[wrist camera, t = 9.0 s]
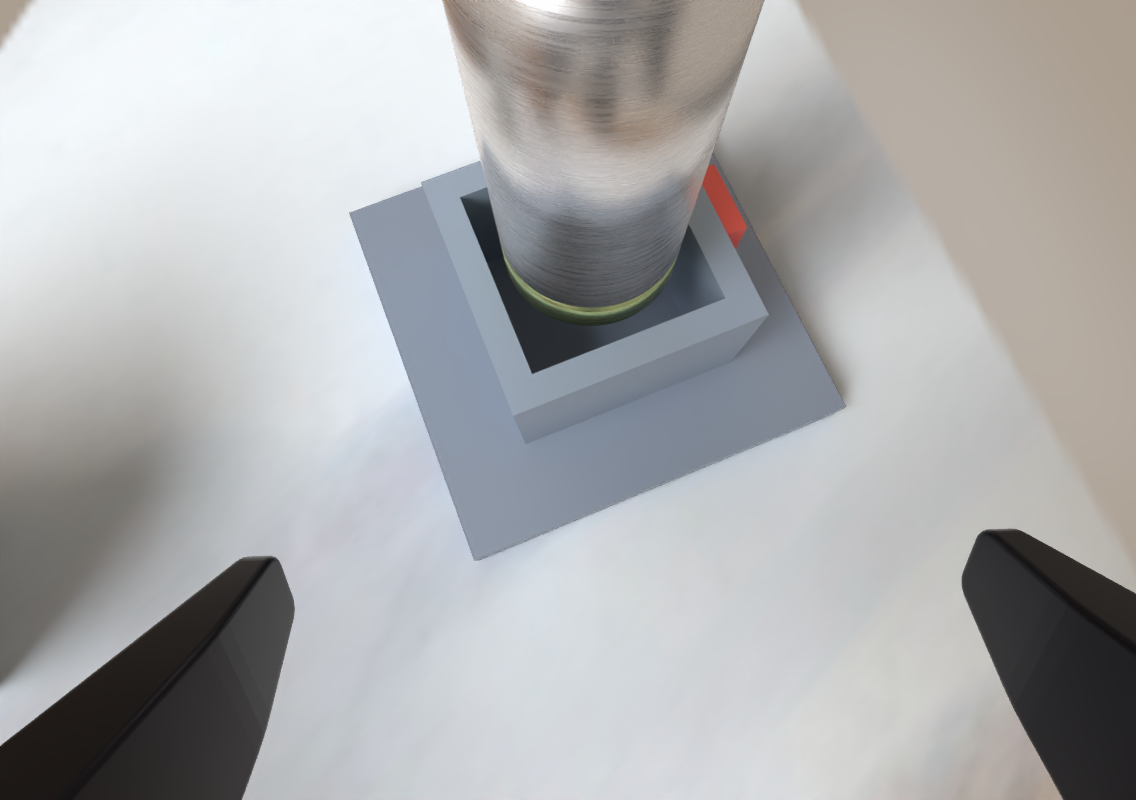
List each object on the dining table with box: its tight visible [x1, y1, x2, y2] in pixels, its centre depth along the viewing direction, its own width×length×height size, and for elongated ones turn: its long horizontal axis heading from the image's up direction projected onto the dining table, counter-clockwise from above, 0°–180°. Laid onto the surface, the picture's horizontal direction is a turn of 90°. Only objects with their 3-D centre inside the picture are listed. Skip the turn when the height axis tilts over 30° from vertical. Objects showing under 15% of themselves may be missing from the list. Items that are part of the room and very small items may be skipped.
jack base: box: [349, 153, 846, 560], centre depth 19 cm, size 12×12×5 cm
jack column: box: [442, 0, 764, 326], centre depth 11 cm, size 4×4×11 cm
